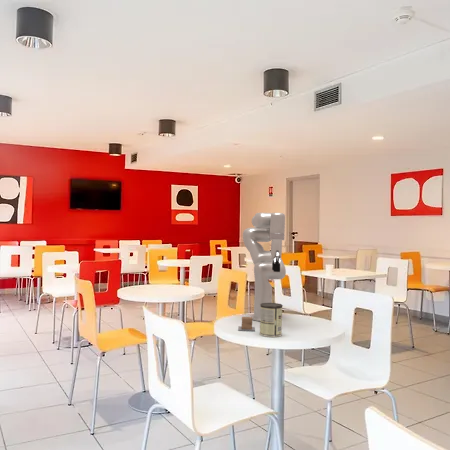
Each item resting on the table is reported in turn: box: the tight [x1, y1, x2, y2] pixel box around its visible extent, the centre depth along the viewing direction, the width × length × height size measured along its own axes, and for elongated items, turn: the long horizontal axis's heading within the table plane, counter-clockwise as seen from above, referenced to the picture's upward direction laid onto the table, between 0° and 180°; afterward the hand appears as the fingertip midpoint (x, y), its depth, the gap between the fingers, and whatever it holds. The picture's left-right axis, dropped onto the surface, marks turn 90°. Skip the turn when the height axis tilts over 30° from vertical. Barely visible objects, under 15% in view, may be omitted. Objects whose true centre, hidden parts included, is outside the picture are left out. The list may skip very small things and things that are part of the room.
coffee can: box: [259, 302, 284, 338], centre depth 208 cm, size 10×10×14 cm
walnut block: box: [241, 316, 253, 329], centre depth 218 cm, size 5×5×5 cm
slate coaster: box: [238, 325, 256, 332], centre depth 218 cm, size 8×8×1 cm
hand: (275, 271), depth 226 cm, fingers open, 9 cm apart
